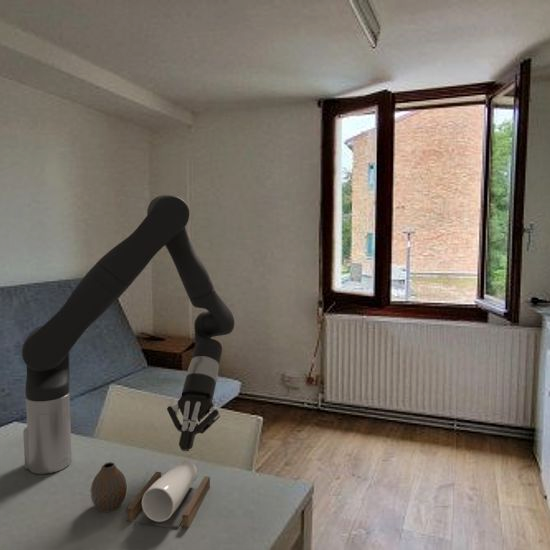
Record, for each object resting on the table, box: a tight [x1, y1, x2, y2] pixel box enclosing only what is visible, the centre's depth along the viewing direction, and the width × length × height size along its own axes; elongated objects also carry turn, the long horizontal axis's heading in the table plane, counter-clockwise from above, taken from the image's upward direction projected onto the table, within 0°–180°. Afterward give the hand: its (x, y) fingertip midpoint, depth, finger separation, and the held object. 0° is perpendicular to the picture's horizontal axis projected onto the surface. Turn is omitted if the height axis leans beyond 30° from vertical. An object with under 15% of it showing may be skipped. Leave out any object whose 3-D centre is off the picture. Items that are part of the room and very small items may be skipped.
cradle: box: [126, 471, 211, 529], centre depth 96 cm, size 12×14×2 cm
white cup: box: [142, 459, 198, 522], centre depth 96 cm, size 7×7×15 cm
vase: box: [90, 461, 128, 513], centre depth 94 cm, size 7×7×9 cm
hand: (184, 450), depth 103 cm, fingers closed
